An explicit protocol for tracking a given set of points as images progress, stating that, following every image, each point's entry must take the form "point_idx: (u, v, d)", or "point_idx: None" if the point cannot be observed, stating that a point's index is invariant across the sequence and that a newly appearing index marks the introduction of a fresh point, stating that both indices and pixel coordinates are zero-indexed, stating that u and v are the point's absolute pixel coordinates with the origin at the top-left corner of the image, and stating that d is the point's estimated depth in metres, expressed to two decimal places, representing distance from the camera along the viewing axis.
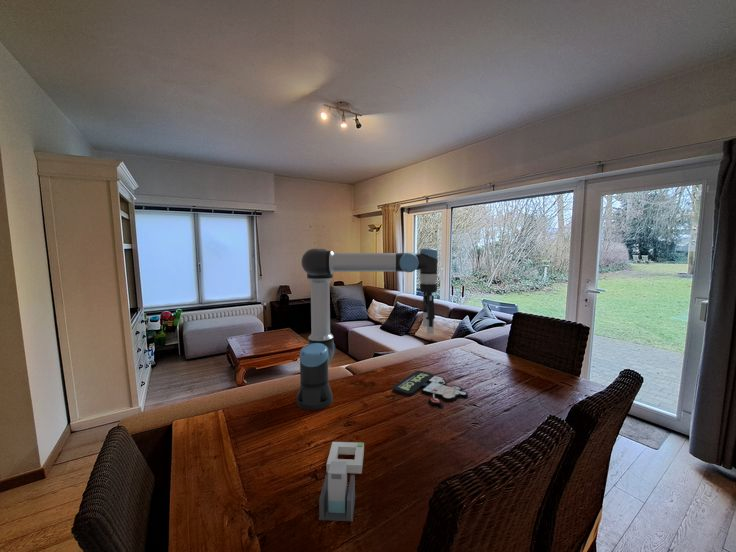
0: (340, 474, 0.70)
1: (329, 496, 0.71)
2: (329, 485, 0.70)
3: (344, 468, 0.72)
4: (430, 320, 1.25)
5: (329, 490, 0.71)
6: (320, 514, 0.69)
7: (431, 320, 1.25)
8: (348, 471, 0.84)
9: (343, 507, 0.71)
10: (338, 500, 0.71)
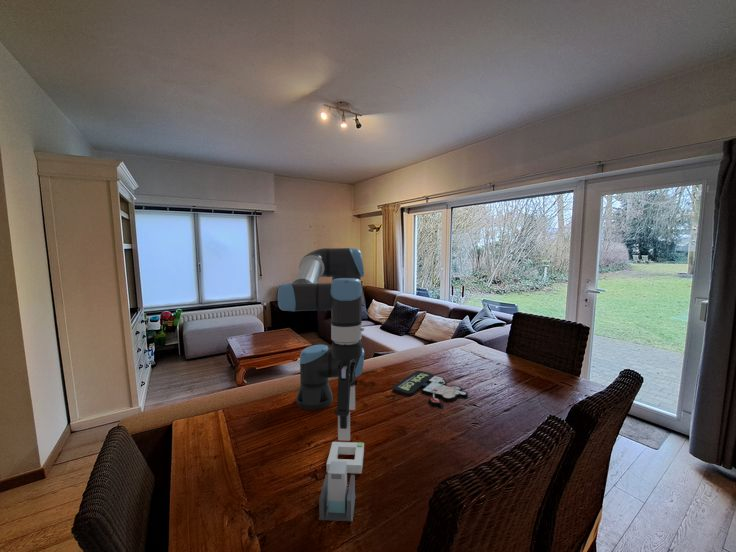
0: (340, 474, 0.70)
1: (329, 496, 0.71)
2: (329, 485, 0.70)
3: (344, 468, 0.72)
4: (342, 417, 0.66)
5: (329, 490, 0.71)
6: (320, 514, 0.69)
7: (343, 417, 0.66)
8: (348, 471, 0.84)
9: (343, 507, 0.71)
10: (338, 500, 0.71)
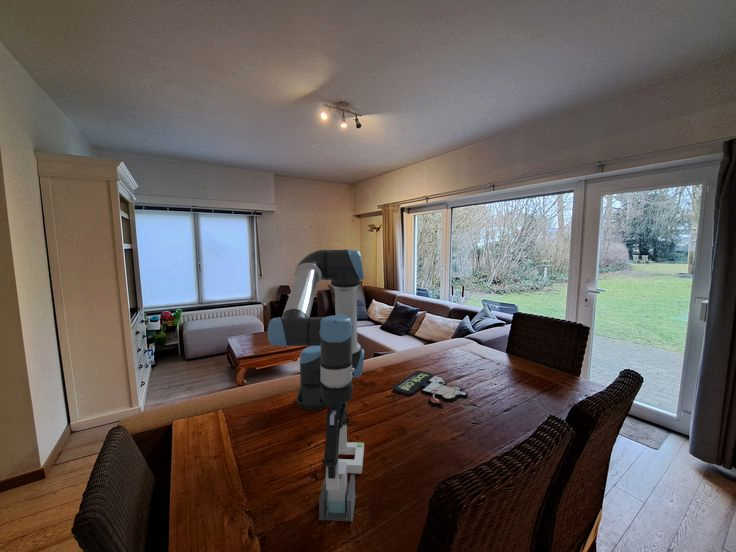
0: (340, 474, 0.70)
1: (329, 496, 0.71)
2: None
3: (344, 468, 0.72)
4: (330, 466, 0.63)
5: (329, 490, 0.71)
6: (320, 514, 0.69)
7: (332, 467, 0.63)
8: (348, 471, 0.84)
9: (343, 507, 0.71)
10: (338, 500, 0.71)
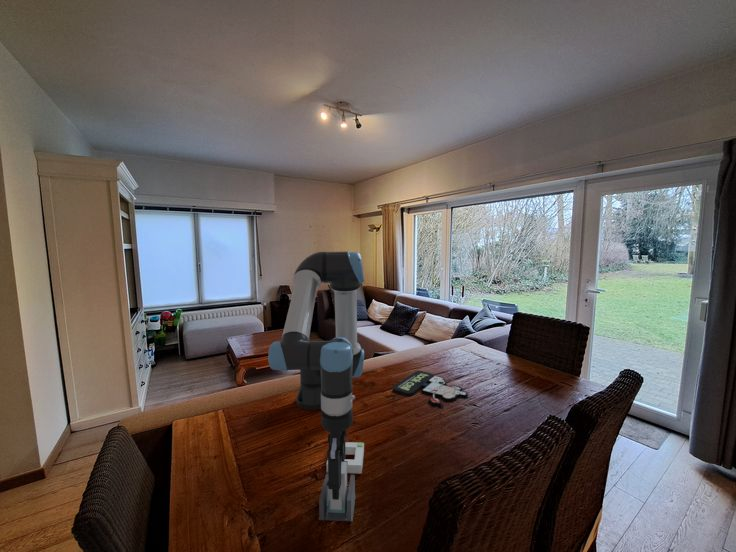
0: None
1: (329, 496, 0.71)
2: None
3: (344, 468, 0.72)
4: (334, 489, 0.68)
5: (329, 490, 0.71)
6: (320, 514, 0.69)
7: None
8: (348, 471, 0.84)
9: (343, 507, 0.71)
10: None
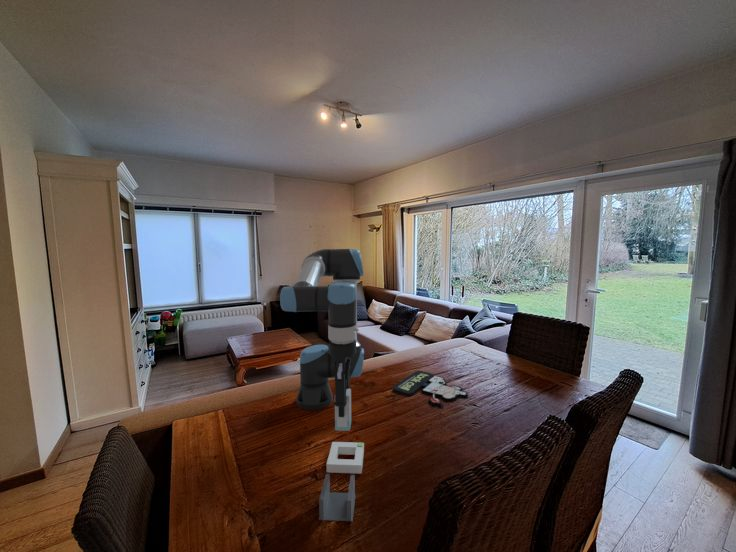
0: None
1: (336, 416, 0.81)
2: (336, 406, 0.80)
3: (349, 392, 0.82)
4: (340, 407, 0.78)
5: (336, 410, 0.81)
6: (320, 514, 0.69)
7: (341, 407, 0.78)
8: (348, 471, 0.84)
9: (348, 425, 0.81)
10: None
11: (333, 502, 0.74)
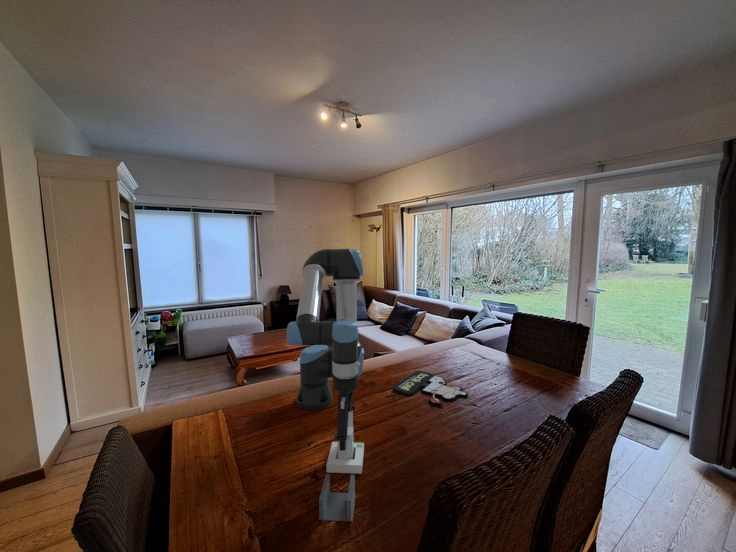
0: (348, 435, 0.86)
1: None
2: None
3: (351, 431, 0.88)
4: (341, 441, 0.80)
5: None
6: (320, 514, 0.69)
7: (342, 441, 0.80)
8: (348, 471, 0.84)
9: None
10: None
11: (333, 502, 0.74)
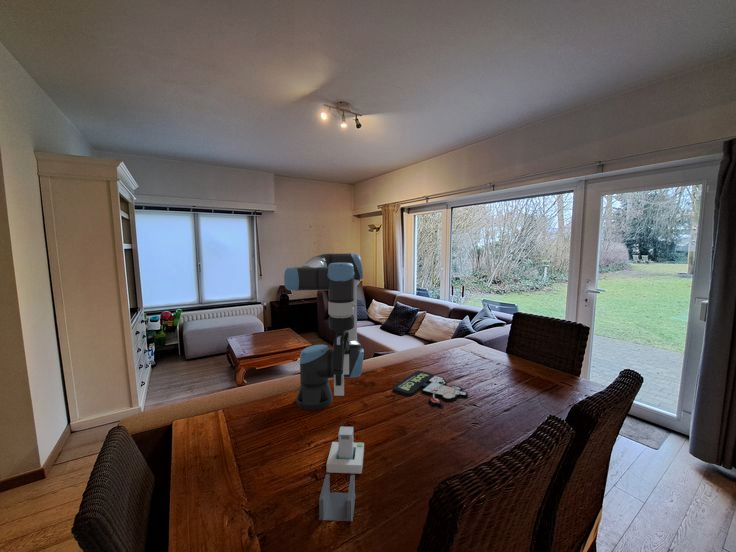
0: (348, 435, 0.86)
1: (339, 453, 0.87)
2: (339, 444, 0.86)
3: (351, 431, 0.88)
4: (337, 376, 0.81)
5: (339, 448, 0.87)
6: (320, 514, 0.69)
7: (338, 376, 0.81)
8: (348, 471, 0.84)
9: None
10: (347, 457, 0.87)
11: (333, 502, 0.74)
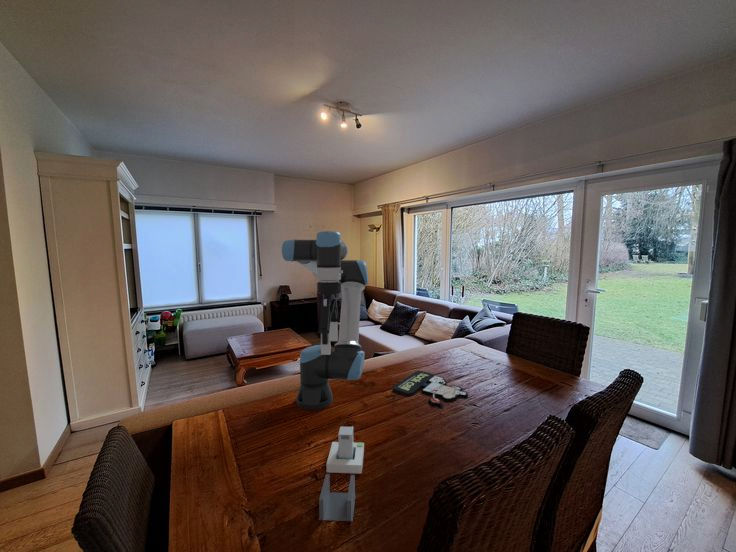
0: (348, 435, 0.86)
1: (339, 453, 0.87)
2: (339, 444, 0.86)
3: (351, 431, 0.88)
4: (323, 335, 0.86)
5: (339, 448, 0.87)
6: (320, 514, 0.69)
7: (325, 335, 0.86)
8: (348, 471, 0.84)
9: None
10: (347, 457, 0.87)
11: (333, 502, 0.74)
